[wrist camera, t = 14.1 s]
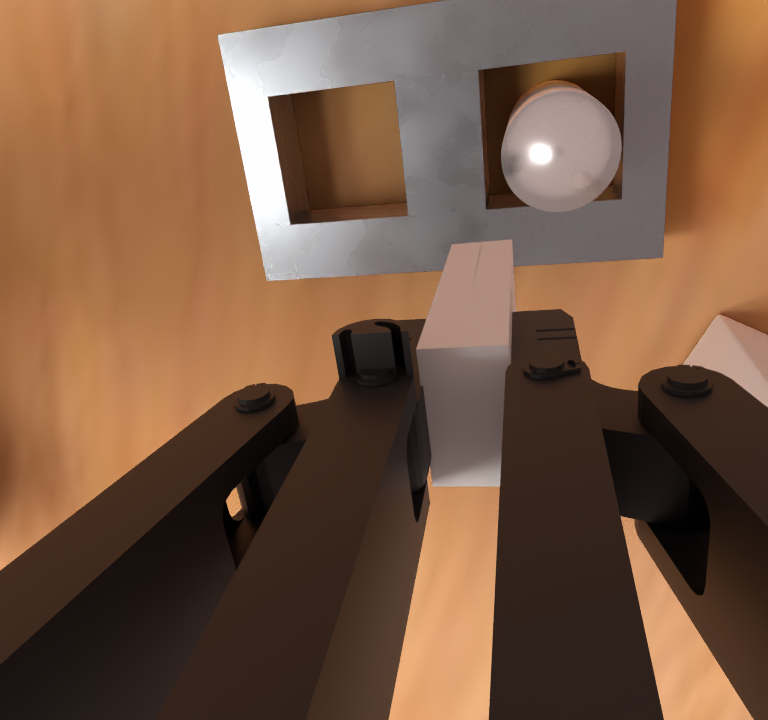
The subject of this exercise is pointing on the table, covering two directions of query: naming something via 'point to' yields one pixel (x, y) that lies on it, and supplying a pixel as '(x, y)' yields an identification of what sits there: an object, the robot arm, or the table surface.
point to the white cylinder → (560, 147)
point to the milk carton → (735, 355)
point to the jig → (449, 132)
